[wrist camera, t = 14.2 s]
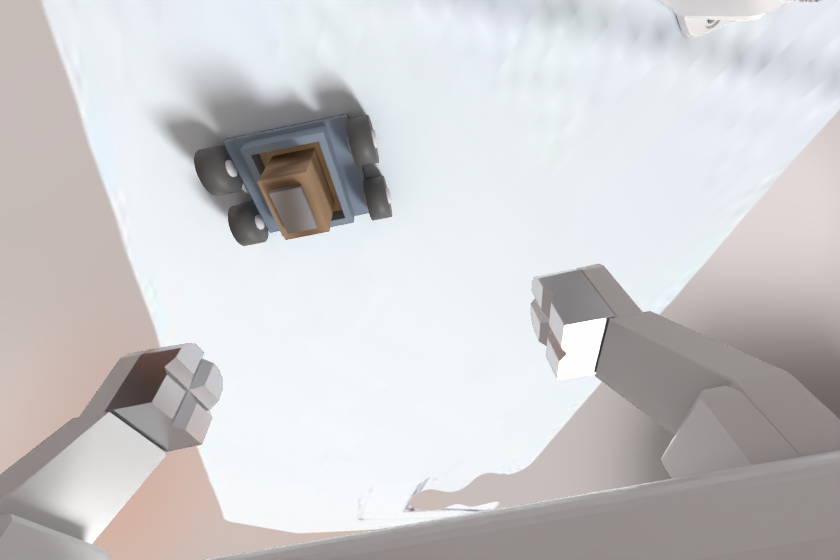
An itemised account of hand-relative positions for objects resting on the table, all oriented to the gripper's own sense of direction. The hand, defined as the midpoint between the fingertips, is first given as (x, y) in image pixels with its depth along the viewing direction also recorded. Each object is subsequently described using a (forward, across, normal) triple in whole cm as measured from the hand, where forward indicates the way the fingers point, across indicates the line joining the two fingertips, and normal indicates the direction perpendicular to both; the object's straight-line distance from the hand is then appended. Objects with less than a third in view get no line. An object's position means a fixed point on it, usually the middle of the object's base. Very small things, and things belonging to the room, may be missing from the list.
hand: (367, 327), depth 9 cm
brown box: (+36, +11, +10) cm, 39 cm away
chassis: (+37, +11, +10) cm, 40 cm away
